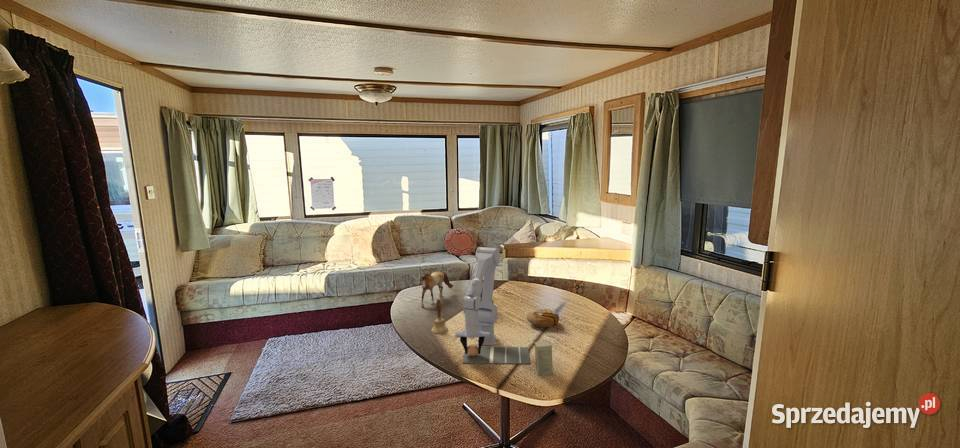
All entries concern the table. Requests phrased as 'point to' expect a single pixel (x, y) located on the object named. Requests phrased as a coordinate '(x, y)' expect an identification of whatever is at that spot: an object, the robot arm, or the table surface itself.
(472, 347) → the ball
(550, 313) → the nautilus
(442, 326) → the hand bell
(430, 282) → the horse figurine
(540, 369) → the skincare box
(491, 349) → the lane mat
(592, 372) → the table surface
